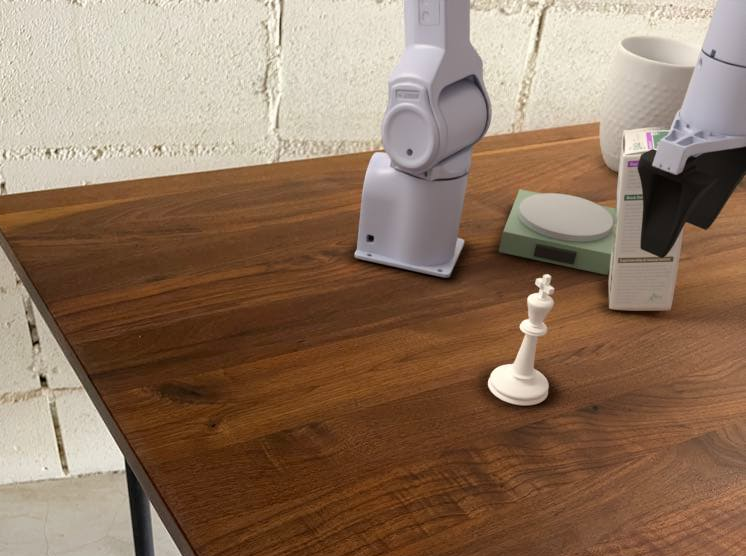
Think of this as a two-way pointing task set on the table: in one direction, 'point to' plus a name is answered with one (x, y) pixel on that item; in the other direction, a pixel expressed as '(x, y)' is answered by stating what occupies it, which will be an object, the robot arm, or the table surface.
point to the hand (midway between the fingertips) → (675, 238)
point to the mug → (644, 88)
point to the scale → (560, 231)
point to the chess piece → (526, 355)
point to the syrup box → (638, 236)
